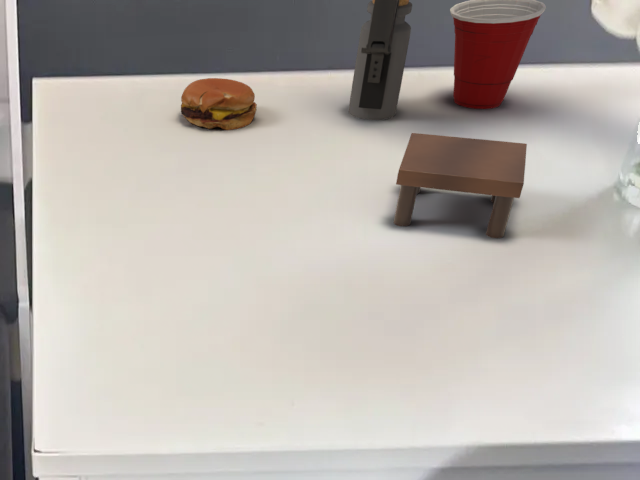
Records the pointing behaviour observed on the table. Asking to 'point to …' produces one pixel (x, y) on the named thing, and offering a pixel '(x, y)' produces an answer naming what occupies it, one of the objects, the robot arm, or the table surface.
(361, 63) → the bottle
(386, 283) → the table surface
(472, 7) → the plastic cup
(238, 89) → the burger
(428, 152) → the stool
